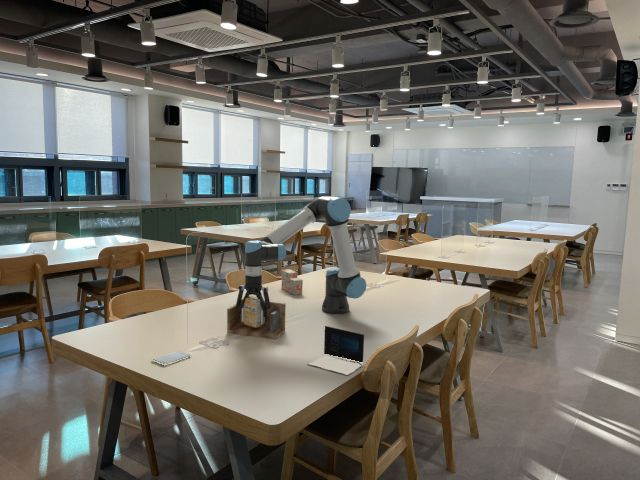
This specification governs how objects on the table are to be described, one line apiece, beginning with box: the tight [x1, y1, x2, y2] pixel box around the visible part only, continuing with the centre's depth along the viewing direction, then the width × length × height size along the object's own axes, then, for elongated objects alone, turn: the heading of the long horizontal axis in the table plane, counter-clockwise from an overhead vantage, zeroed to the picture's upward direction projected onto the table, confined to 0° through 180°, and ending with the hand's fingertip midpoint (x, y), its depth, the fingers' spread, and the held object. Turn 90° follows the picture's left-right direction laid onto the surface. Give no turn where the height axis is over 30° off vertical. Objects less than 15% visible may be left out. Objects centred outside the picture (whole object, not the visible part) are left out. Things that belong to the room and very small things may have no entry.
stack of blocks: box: [281, 268, 304, 296], centre depth 303 cm, size 21×6×12 cm, turn 25°
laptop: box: [323, 325, 365, 363], centre depth 184 cm, size 18×12×13 cm
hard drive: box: [152, 350, 192, 364], centre depth 186 cm, size 2×8×12 cm
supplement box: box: [244, 295, 264, 328], centre depth 220 cm, size 8×5×13 cm, turn 52°
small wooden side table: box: [226, 298, 286, 340], centre depth 221 cm, size 24×12×14 cm, turn 73°
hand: (253, 322), depth 220 cm, fingers closed on supplement box, 9 cm apart
